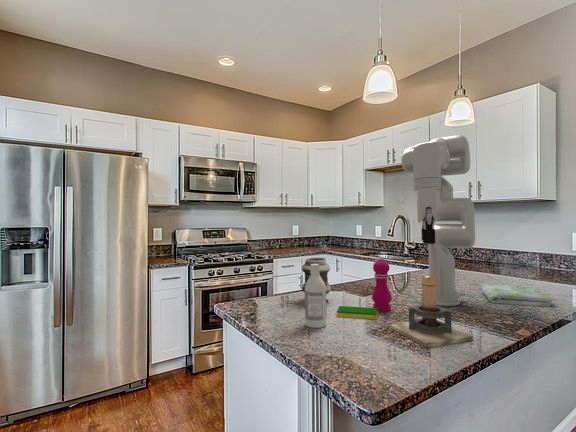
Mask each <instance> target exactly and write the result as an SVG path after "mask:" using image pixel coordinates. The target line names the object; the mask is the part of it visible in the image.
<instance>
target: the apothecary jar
mask: <svg viewBox="0 0 576 432" xmlns="http://www.w3.org/2000/svg"><path fill="white" fill-rule="evenodd" d="M311 264H319V275H320V277H321V278H322V280H323V282H324V284H325V287H326V295H327V294H329V293H330V292H331V290H332V287H331V284H329V280H328V279H329V278H328V273H329V272H330V270H331V266H330V265H329V263H327V259H326V257H325V258H324V257H308V258H306V259H305V262H304V264H303V265H302V267H301V270H302V272H303V273H304V283H303V284H302V286H301V289H302V292H303V293H304V294H305V285H306V282H307V281H308V279H309V277H310V276H311V269H310V265H311ZM328 303H329V299H327V298H326V304H328Z"/></svg>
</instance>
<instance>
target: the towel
mask: <svg viewBox="0 0 576 432" xmlns="http://www.w3.org/2000/svg"><path fill="white" fill-rule="evenodd" d="M479 286H480V287H479V289H480V291H481V292H482V294H483V295H484V296H485V297H486V298H487V299H488V301H489V302H491V303H492V304H500V305H514V306H529V307H546V308H548V307H551V302H553V298H552V297H551V295H549V294H548V293H546V292H545V291H543V290H541V289H538V288H536V287H532V286H521V285H520V286H518V285H511V284H502V283H493V282H485V283H483V284H480V285H479Z"/></svg>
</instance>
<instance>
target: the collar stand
mask: <svg viewBox="0 0 576 432" xmlns="http://www.w3.org/2000/svg"><path fill="white" fill-rule="evenodd" d="M415 315H416V316H418V317H421V318H418V319H415ZM422 317H425V318H436V319H437V327H429V326H424V325H422ZM442 318H444V322H443V321H440V320H438V319H442ZM452 322H453V321H452V310H451V309H450V308H449V309H448V308H443V307H442V306H441V307H440V306H439V305H437V312H427V311H422V304H419V305H416V306H408V322H401V323H399V322H398V323H395V324H393V323H392V324H390V329H391V330H393V331H395V332H396V333H398V334H400V335H403V336H404V337H406V338H407V339H409V340H411V341H413V342H414V343H416V344H419V345H420V346H422V347H423V348H427V349H428V348H434V347H440V346H446V345H452V344H457V343H458V344H459V343H464V342H471V341H474V335H471V334H470V333H468V332H465V331H463V330H460V329H458V328H455V327H453V326H452V325H453V323H452Z"/></svg>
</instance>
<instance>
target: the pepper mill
mask: <svg viewBox="0 0 576 432" xmlns="http://www.w3.org/2000/svg"><path fill="white" fill-rule="evenodd" d="M372 270H373V272H374V278H375V286H374V289H373V291H372V294H371V300H372V301H373V305H372V308H377V309H378V312H389V311H391V304H390V303H391V302H392V300H393V298H392V293H391V291H390V289H389V287H388V278H389V271H390V265H389V263H388V262H387V261H384V257H383V256H379V257H378V260H377V261H375V262H373V265H372Z"/></svg>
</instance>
